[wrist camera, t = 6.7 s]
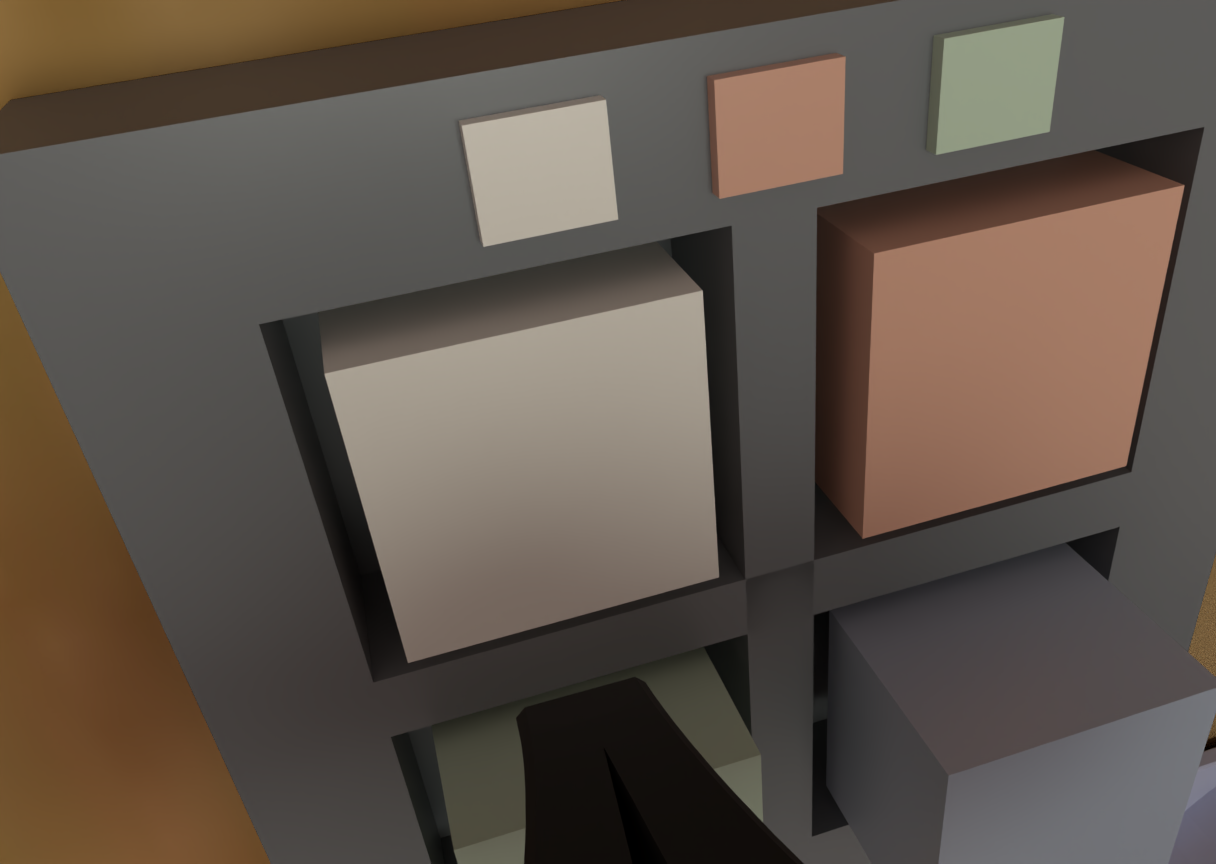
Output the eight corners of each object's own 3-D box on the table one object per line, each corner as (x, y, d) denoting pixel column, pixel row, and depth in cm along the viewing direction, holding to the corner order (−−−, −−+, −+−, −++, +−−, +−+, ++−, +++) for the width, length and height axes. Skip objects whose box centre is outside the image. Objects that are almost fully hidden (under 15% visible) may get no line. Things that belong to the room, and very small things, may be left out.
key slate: (1064, 541, 16) (1224, 685, 13) (1033, 718, 18) (1164, 872, 15) (829, 609, 15) (948, 775, 12) (825, 785, 17) (926, 958, 15)
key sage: (678, 598, 16) (761, 754, 13) (693, 769, 18) (766, 934, 15) (420, 669, 15) (453, 850, 12) (468, 838, 17) (505, 1024, 14)
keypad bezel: (1226, -98, 13) (1412, -84, 11) (1067, 701, 21) (1156, 798, 19) (9, 99, 11) (-56, 169, 8) (351, 930, 19) (363, 1074, 16)
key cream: (644, 229, 12) (702, 290, 11) (667, 492, 15) (718, 577, 13) (317, 296, 12) (324, 373, 10) (391, 562, 14) (408, 663, 12)
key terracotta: (1071, 141, 14) (1184, 185, 12) (1035, 398, 16) (1126, 466, 14) (795, 199, 13) (874, 253, 11) (796, 460, 15) (862, 538, 13)
